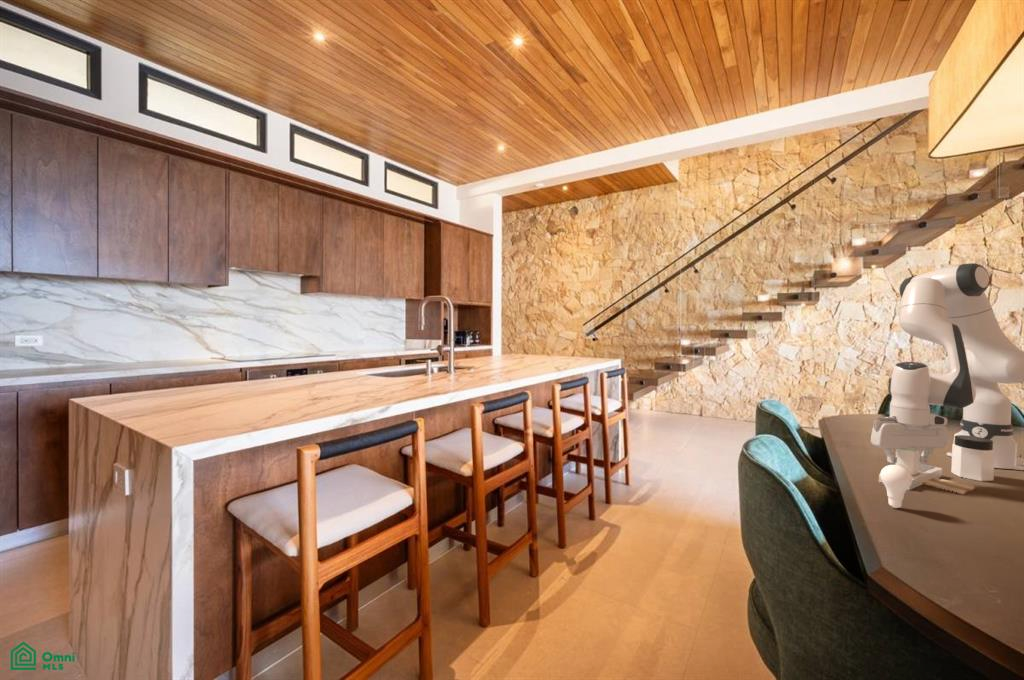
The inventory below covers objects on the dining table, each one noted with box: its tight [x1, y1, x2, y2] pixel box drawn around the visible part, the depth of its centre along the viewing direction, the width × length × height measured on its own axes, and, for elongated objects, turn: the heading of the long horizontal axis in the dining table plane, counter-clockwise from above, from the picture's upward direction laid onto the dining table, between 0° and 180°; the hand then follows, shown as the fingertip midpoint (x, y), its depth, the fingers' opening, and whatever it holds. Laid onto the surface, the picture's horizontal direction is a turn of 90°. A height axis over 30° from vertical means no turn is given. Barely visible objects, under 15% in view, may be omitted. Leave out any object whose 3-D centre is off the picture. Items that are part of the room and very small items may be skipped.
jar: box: [950, 435, 995, 482], centre depth 133 cm, size 9×8×12 cm
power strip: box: [878, 463, 943, 491], centre depth 132 cm, size 29×7×3 cm, turn 119°
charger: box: [894, 447, 921, 475], centre depth 129 cm, size 4×4×8 cm
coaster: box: [922, 477, 976, 495], centre depth 125 cm, size 9×9×1 cm
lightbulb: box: [879, 464, 912, 509], centre depth 109 cm, size 6×6×11 cm
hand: (907, 462), depth 129 cm, fingers open, 8 cm apart
